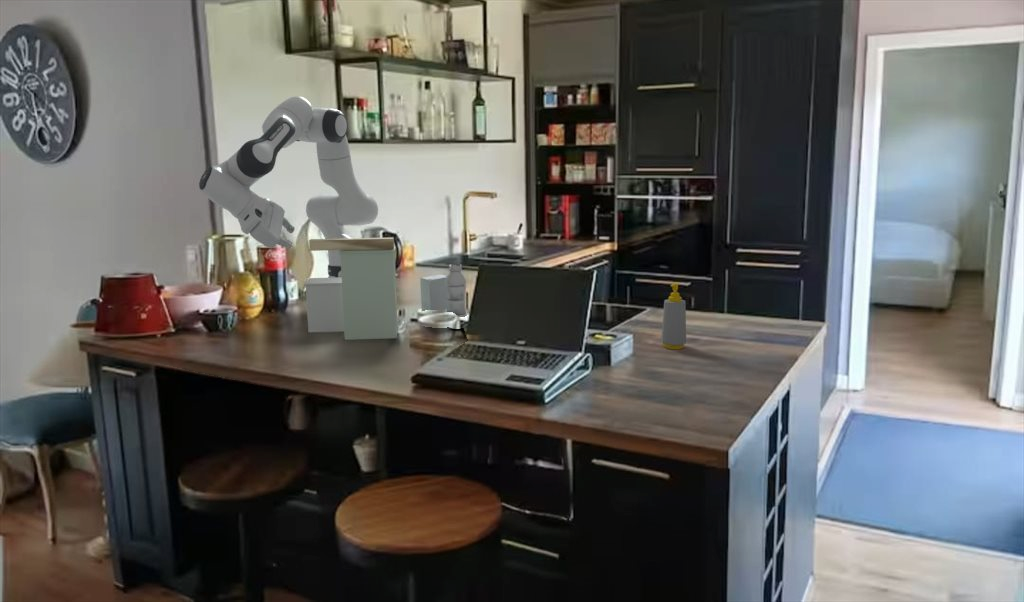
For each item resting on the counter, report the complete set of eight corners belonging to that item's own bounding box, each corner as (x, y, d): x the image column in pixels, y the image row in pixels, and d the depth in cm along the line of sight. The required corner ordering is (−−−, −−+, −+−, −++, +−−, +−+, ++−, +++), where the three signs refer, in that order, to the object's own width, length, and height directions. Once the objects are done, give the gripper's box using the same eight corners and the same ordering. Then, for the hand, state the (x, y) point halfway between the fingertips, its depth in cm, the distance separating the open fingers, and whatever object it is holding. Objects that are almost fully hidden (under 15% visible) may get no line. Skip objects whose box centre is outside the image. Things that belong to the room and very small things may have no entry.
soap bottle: (657, 348, 221) (659, 284, 217) (665, 342, 227) (666, 280, 223) (682, 350, 217) (684, 286, 214) (689, 345, 223) (691, 282, 220)
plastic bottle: (467, 331, 242) (465, 266, 238) (444, 331, 242) (443, 266, 239) (468, 326, 249) (467, 263, 245) (446, 327, 249) (445, 263, 245)
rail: (311, 249, 234) (310, 239, 233) (394, 247, 236) (393, 237, 235) (309, 250, 231) (309, 240, 230) (393, 248, 233) (393, 238, 232)
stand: (346, 332, 243) (342, 247, 238) (398, 330, 244) (395, 246, 239) (343, 340, 233) (339, 251, 228) (397, 338, 235) (394, 250, 230)
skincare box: (442, 318, 261) (441, 273, 258) (453, 321, 256) (452, 276, 253) (420, 322, 255) (419, 276, 252) (431, 325, 251) (429, 279, 248)
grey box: (312, 325, 253) (309, 278, 250) (352, 324, 254) (350, 277, 251) (307, 332, 243) (304, 283, 240) (349, 331, 244) (346, 282, 241)
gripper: (250, 201, 239) (288, 228, 245) (241, 234, 222) (282, 262, 229) (263, 187, 237) (301, 215, 244) (255, 219, 220) (296, 248, 227)
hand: (292, 238), depth 236 cm, fingers open, 8 cm apart
